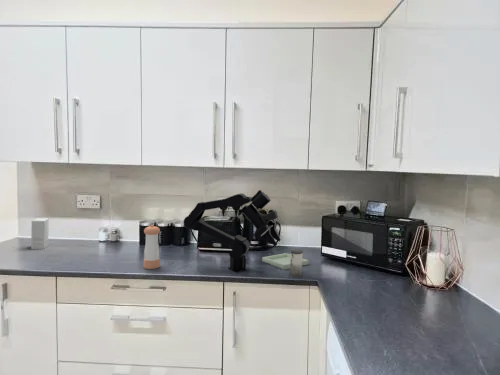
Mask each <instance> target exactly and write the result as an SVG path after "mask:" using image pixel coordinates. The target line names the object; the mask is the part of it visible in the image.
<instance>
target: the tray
mask: <svg viewBox="0 0 500 375" xmlns="http://www.w3.org/2000/svg"><path fill="white" fill-rule="evenodd" d="M261 262H263V263H265V264H268V265H271V266H273V267H276V268H279V269H280V270H290V253H288V252H287V253H286V252H284V253H280V254H273V255H268V256H262V257H261ZM309 262H310V261H309V259H305V258H303V257H302V267H303V266H309Z"/></svg>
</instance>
